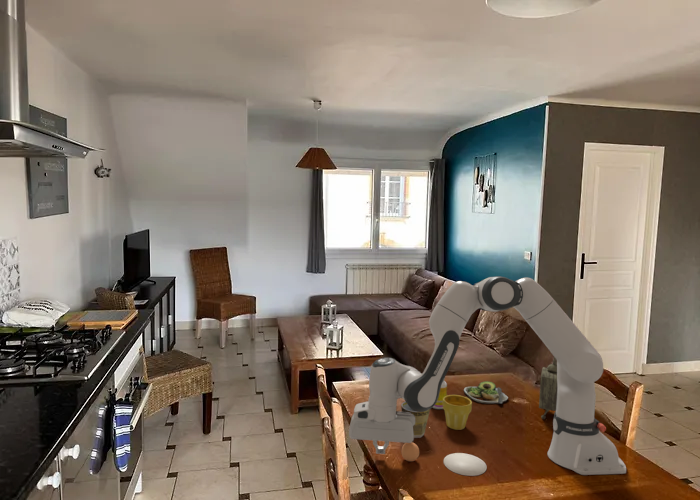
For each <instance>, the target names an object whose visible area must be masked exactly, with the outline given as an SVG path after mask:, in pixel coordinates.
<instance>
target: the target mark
mask: <svg viewBox="0 0 700 500" xmlns="http://www.w3.org/2000/svg"><path fill="white" fill-rule="evenodd" d="M443 465H444V466H445V467H446V468H447V469H448V470H449V471H451V472H453V473H455V474H457V475H462V476H468V477H469V476H470V477H476V476H481V475H482V474H484V473H485V472H486V471H487V468H488V467H487V464H486V462H485V461H484V460H482V459H481V458H479V457H478V456H475V455H473V454H470V453H469V454H468V453H463V452H455V453H450V454H447V455H446V456H445V457H444V458H443Z"/></svg>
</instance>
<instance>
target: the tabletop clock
mask: <svg viewBox="0 0 700 500" xmlns="http://www.w3.org/2000/svg"><path fill="white" fill-rule="evenodd" d="M539 385H540V386H539V388H540V389H539V399H538V400H539V401H538V403H539V404H538V409H541V410H545V411H544V414H542V415H541V416H540V417H541V419H542V420H545V419H547V417H546V415H547V413H548V412H550V411H554V412H556V405H557V389H558V387H557V360H556V358H555V357H554V356H553V360H552V363H550V364H549V365H547V367H545V366H543V367H542V369H541V375H540V384H539Z"/></svg>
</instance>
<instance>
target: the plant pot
mask: <svg viewBox="0 0 700 500" xmlns="http://www.w3.org/2000/svg"><path fill="white" fill-rule="evenodd" d="M472 406H473V402H472V399H471V398H470V397H468V396H463V395H459V394H449V395H448V394H447V396H445V397H444V398H443V409H442V410H444V415H445V423H446V427H448V428H450V429H451V430H455V431H458V430H464V429H465V427H466V425H467V421H468V418H469V415H470V413H472V408H473V407H472Z"/></svg>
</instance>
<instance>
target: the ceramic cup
mask: <svg viewBox="0 0 700 500" xmlns="http://www.w3.org/2000/svg"><path fill="white" fill-rule="evenodd" d="M400 405H401V408H400V409H401V412H410V413H411V414H413V415H414V416H415V425H414V426H413V434H414V439H418V438H419V439H420V438H422V437H423V436H424V435H425V433H426V428H427V423H428V420H429V415H430V410H431V409H429V410H428V411H425V412H416V411H414V410H412V409H411V408H410V407H409V405H408V404H407V403H406V401H405V400H404V402H402V403H401V404H400ZM411 416H412V415H411Z"/></svg>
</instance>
